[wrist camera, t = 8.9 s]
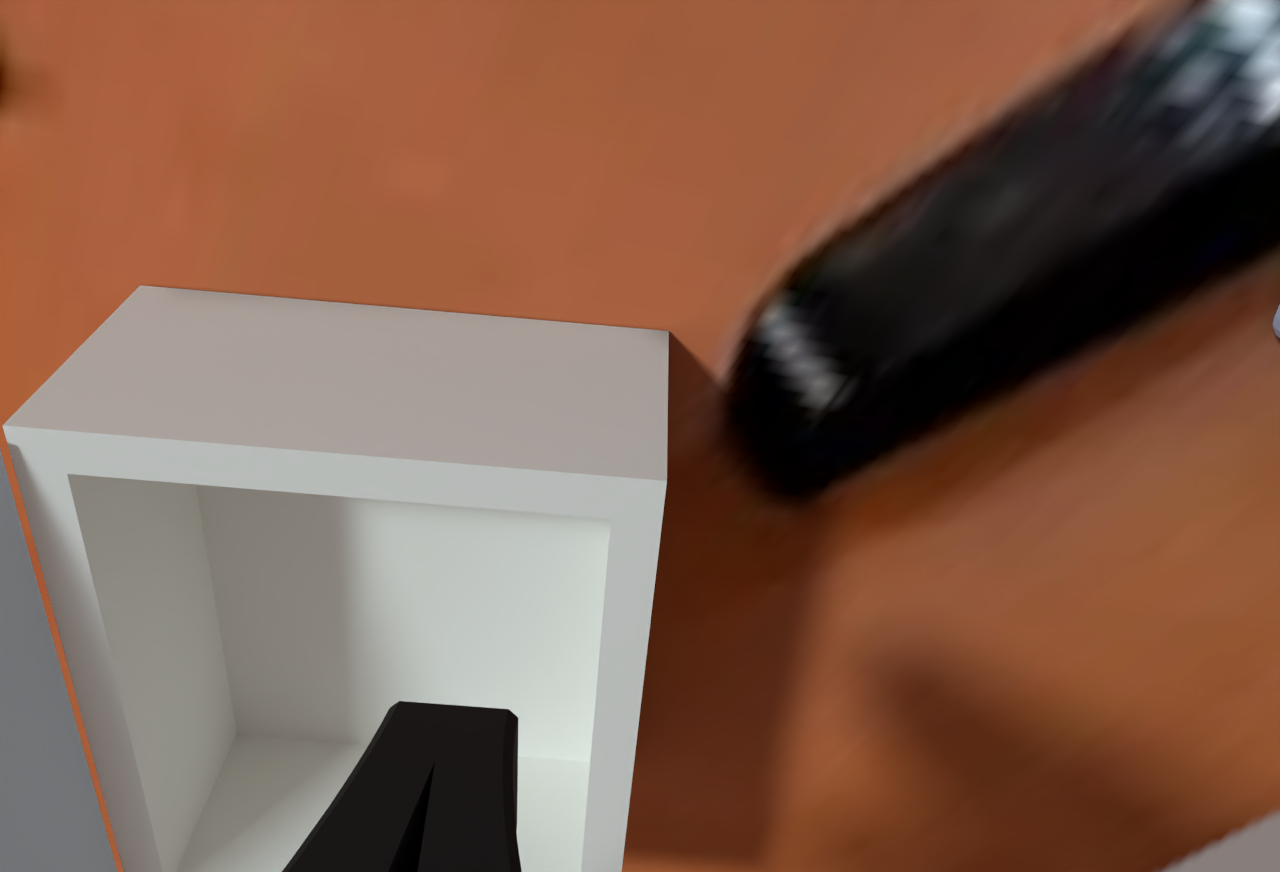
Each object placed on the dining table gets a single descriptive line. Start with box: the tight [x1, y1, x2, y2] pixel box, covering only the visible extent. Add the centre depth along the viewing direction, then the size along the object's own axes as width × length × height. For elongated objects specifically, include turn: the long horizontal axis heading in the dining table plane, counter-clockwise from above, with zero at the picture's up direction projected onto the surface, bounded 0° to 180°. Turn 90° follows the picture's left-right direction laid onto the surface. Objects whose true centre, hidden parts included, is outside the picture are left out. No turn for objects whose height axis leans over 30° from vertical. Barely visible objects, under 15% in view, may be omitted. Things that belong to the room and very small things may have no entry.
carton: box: [3, 285, 669, 872], centre depth 22 cm, size 10×12×5 cm
